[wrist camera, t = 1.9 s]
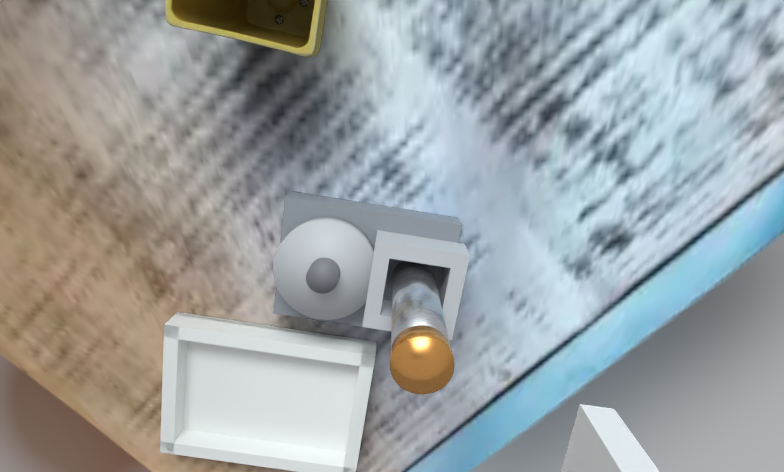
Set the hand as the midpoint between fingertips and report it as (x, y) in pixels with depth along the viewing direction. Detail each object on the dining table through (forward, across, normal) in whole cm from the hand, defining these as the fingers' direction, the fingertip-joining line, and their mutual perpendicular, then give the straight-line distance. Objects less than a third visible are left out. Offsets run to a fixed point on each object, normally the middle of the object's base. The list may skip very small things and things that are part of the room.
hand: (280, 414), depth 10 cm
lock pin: (+26, +4, -6) cm, 27 cm away
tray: (+29, -7, -19) cm, 35 cm away
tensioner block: (+29, 0, -5) cm, 29 cm away
